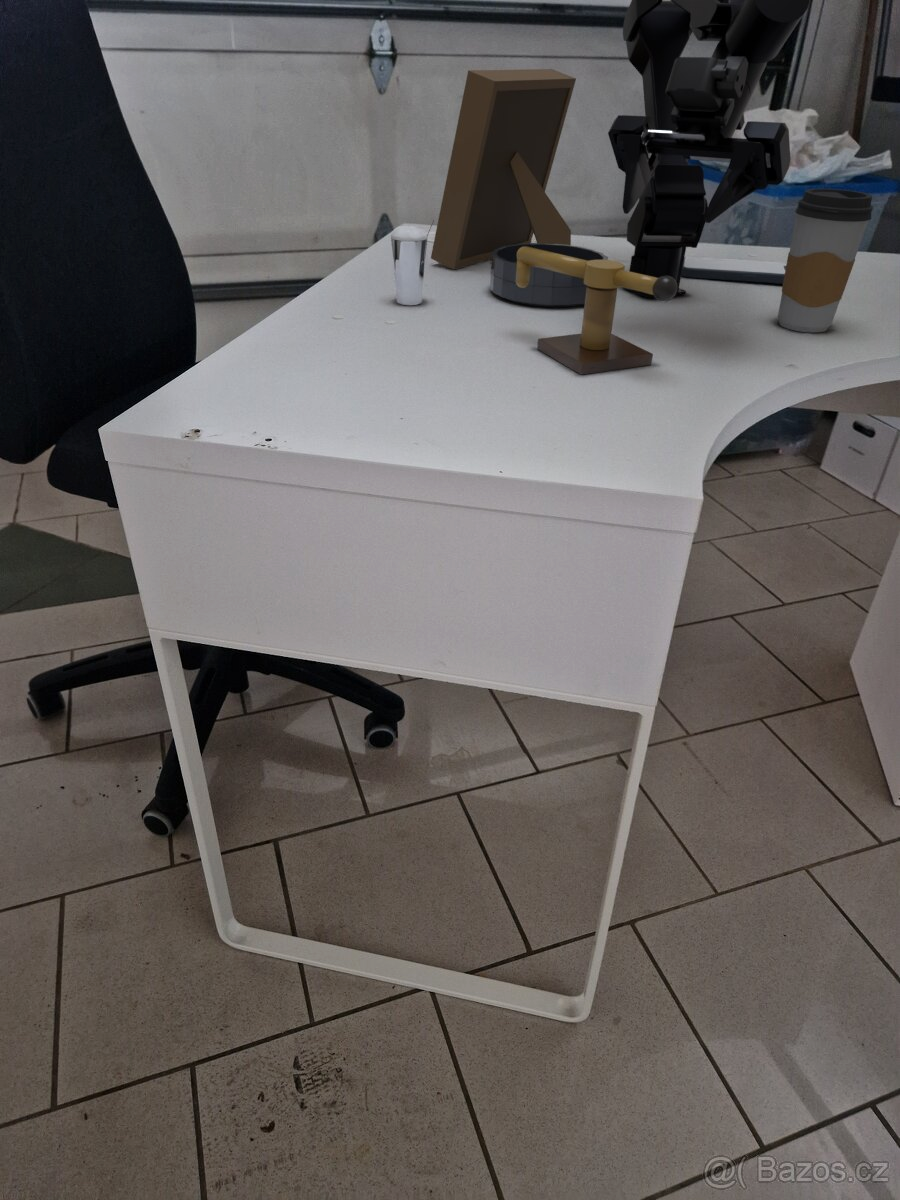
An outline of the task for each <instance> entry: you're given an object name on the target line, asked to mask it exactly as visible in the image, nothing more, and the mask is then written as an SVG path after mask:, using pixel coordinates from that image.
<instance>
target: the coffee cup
mask: <svg viewBox="0 0 900 1200" xmlns="http://www.w3.org/2000/svg"><path fill="white" fill-rule="evenodd" d="M872 200H873V195H872V194H870V193H867V192H861V191H857V190H856V191H855V190H849V189H841V188H840V189H839V188H808V189H806V190H804V193H803V196H802V199H799V200H798V203H797V207H796V208H795V211H794V212H795V219H794V225H793V231H792V236H791V242H790V248H789V252H788V254H787V260H786V263H787V265H786V270H785V276H784V281H783V284H782V287H781V297H780V298H781V299H780V302H779V308H778V313H777V319H778V324H779V325H780V326H781V327H783V328H785V329H788V330H791V331H795V332H801V333H812V334H813V333H814V334H815V333H823V332H826V331H828V329H829V327H830V326H832V324H833V321H834V319H835V316H836V313H837V310H838V308H839V304H840V302H841V301H842V298H843V295H844V292H845V289H846V287H847V284H848V282H849V278H850V276H851V272H852V270H853V268H854V265H855V262H856V257H857V255H858V252H859V249H860V245H861V243H862V240H863V237H864V234H865V231H866V229H867V226H868V223H869V221H871V220H872V212H873V210H874V206H873V205H872V202H873V201H872Z"/></svg>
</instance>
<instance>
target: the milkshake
mask: <svg viewBox="0 0 900 1200" xmlns="http://www.w3.org/2000/svg"><path fill="white" fill-rule="evenodd" d="M434 221H435V220H434V219H433V220H432V223H431V224H430V227H429V229H428V231H427V232H426V230H424V229H423V228H421V227H418V226H415V225H398V226H397V227H395V228H394V229H393V230H392V232H391V233H390V239H391V240H390V241H391V250H392V252H391V253H392V258H393V266H394V267H393V268H394V280H395V281H394V283H395V294H396V295H395V296H396V303H397V304H399V305H402V306H416V305H421V304H422V302H423V289H424V275H425V265H426V264H425V263H426V254H427V246H428V236H429V234H430V231H431V229H432V227H433V224H434Z"/></svg>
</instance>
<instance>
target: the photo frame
mask: <svg viewBox="0 0 900 1200" xmlns="http://www.w3.org/2000/svg"><path fill="white" fill-rule="evenodd" d="M465 79H466V80H465V85H464V89H463V90H464V91H463V94H462V99H461V104H460V110H459V115H458V120H457V125H456V129H455V134H454V139H453V144H452V150H451V155H450V160H449V165H448V170H447V175H446V180H445V185H444V189H443V194H442V199H441V204H440V209H439V213H438V214H439V215H438V220H437V225H436V229H435V235H434V238H433V239H434V240H433V243H432V244H433V246H432V250H431V254H430V255H431V256H430V259H431V260H433V261H435V262H437V263H439V264H441V265H443V266H445V267H447V268H449V269H451V270H453V271H454V270H458V269H462V268H465V267H469V266H471V265H475V264H478V263H481V262H485V261H489V260H492V252H493V251H494V250H495V249H497V248H499V247H502V246H507V245H512V244H524V243H532V240H533V236H534V238H535V241H536V243H550V244H564V245H571V246H572V229H571V228H570V227H569V225H568V224H567V222H566V221H565V219H564V218H563V217H562V215H561V213H560V212H559V211H558V209H557V208H556V206H555V205H554V203H553V202H552V201H551V199H550V197H549V196H548V195H547V193H546V190H547V186H548V183H549V178H550V175H551V172H552V168H553V165H554V160H555V157H556V153H557V150H558V146H559V142H560V139H561V135H562V131H563V128H564V125H565V121H566V117H567V114H568V109H569V106H570V102H571V99H572V95H573V91H574V88H575V85H576V79H577V78H576V77H573V76H571V75H568V74H566V73H563V72H560V71H558V70H555V69H553V68H541V69H540V68H531V69H530V68H528V69H475V70H474V69H473V70H472V69H471V70H470V69H468V70H467V75H466V78H465Z"/></svg>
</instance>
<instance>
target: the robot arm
mask: <svg viewBox="0 0 900 1200" xmlns="http://www.w3.org/2000/svg"><path fill="white" fill-rule="evenodd" d="M810 1H811V0H631V1H630V4H629V6H628V8H627V10H626V13H625V16H624V19H623V25H622V39H623V41H624V42H625V43H626V44H625V45H626V50H627V58H628V61H629V63H630V64H631V65H632V66H633V68H634V69H635V70H636V71H637V73H639V75H640V76H641V78H642V90H643V91H642V92H643V101H644V102H643V104H644V114H645V115H629V114H628V115H627V114H619V115H617V117H616V118H615V119H614V120H613V122H612V123H611V126H610V127H609V130H608V132H607V135H608V139H609V141H610V145H611V148H612V151H613V156H614V158H615V161H616V164H617V168H618V169H619V170H620V171H622V172H623V173H624V174H625V177H624V187H623V197H622V210H623V214H625V215H628V214H629V213H630V212H631V211H632V209H634V210H633V212H632V213H631V216H630V218H629V220H628V222H627V227H626V242H628V243H629V244H630V245H632V246H633V247H634V251H633V255H632V256H631V257H630V264H629V270H628V271H630V272H634V273H639V274H643V275H647V276H652V277H656V278H659V277H661V276H671V277H672V278H674V279H675V281H676V283H677V292H676V295H675V296H683V295H686V294H687V290H686V289H683V288H681V287H680V285H681V279H682V276H681V274H682V268H683V263H684V257H686V252H687V251H686V250H687V248H691V249H697V248H698V245H699V242H700V240H701V237H702V234H703V231H704V228H705V225H706V224H710V223H712V222H713V221H714V220H715V219H717V218H719V216H721V215H722V214H723V213H724V212H726V211H727V210H728V209H730V208H732V206H734V205H735V204H737V203H739V202H740V201H741V200H743V199H745V198H746V197H748V196H749V195H751V194H753V193H754V192H756V191H757V190H762V191H763V190H766V189H767V187H768V186H769V185H770V186H779V185H780V184H782V183H783V181H784V179H785V177H786V175H787V173H788V171H789V168H790V164H791V144H790V130H789V127H788V125H787V124H786V122H776V121H756V120H755V121H754V120H753V121H752V120H751V121H747V122H745V116H744V115H745V112H746V109H747V106H748V104H749V102H750V100H751V98H752V95H753V94H754V92H755V90H756V88H757V86H758V83H759V81H760V79H761V77H762V75H763V73H764V71H765V69H766V67H767V63H768V62H771V61H772V60H774V59H775V58H776V57H777V55H778V54H779V52H780V51H781V49H782V48H783V46H784V44H785V43H786V42H787V41H788V38H789V37H790V36H791V34H792V33H793V31H794V30H795V28H796V27H797V25H798V24H799V22H800V21H801V20H802V18H803V16H804V15H805V13H806V12H807V11H808V8H809V5H810ZM692 34H693V35H694V36H695V38H696V40H697V41H699V42H718V43H717V45H716V46H715V48H714V50H713V52H712V55H711V56H709V57H708V56H705V57H704V56H682V54H683V52H684V51H685V48H686V47H687V44H688V42H689V40H690V37H691V36H692ZM745 123H746V124H745ZM744 125H745V126H744ZM742 129H743V136H744V137H745V138H740V137H739V138H738V137H734V134H735V132H736V131H741V130H742ZM688 160H691V161H705V162H718V163H719V162H720V163H729V164H728V165H727V168H726V170H725V172H724V174H723V176H722V178H721V180H720V182H719V183H718V186H717V187H716V190H715V191H714V193H713V195H712V197H711V199H710V202H709V203H708V200H707V198H706V195H707V192H706V188H705V178H704V176H705V173H704V172H705V171H704V169H703V168H702V165H700V164H690V163H689V161H688ZM634 207H635V208H634ZM622 288H623V289H625V290H628V291H630V292H632V293H635V294H637V295H640V296H643V297H645V298H648V299H656V298H655V297H654V295H652V294H648V293H644V292H640V291H636V290H632V289H628V288H624V287H622ZM675 296H674V297H675Z"/></svg>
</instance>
